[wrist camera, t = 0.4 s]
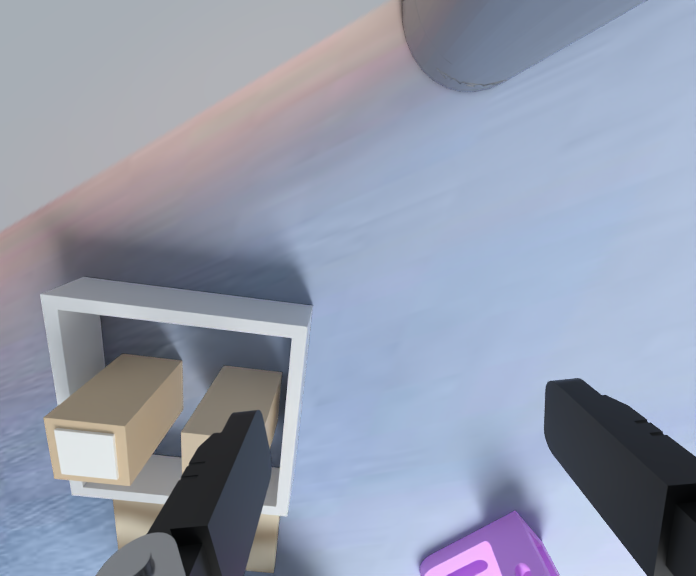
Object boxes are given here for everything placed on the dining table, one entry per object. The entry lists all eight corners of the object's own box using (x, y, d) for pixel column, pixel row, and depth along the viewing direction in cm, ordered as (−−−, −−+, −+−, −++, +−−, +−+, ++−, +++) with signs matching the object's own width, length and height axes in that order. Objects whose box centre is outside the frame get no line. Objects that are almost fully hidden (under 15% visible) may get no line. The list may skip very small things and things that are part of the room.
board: (115, 462, 33) (109, 469, 32) (283, 480, 34) (281, 487, 33) (124, 550, 37) (119, 559, 36) (274, 564, 37) (273, 573, 37)
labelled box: (119, 353, 29) (37, 419, 21) (182, 360, 29) (123, 428, 22) (124, 402, 31) (48, 480, 23) (183, 409, 31) (128, 488, 23)
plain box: (223, 365, 30) (180, 432, 22) (282, 372, 30) (259, 440, 22) (222, 413, 31) (182, 491, 24) (278, 419, 31) (255, 498, 24)
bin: (83, 276, 27) (40, 294, 23) (312, 305, 28) (307, 326, 24) (103, 457, 33) (71, 495, 29) (294, 477, 33) (287, 516, 30)
